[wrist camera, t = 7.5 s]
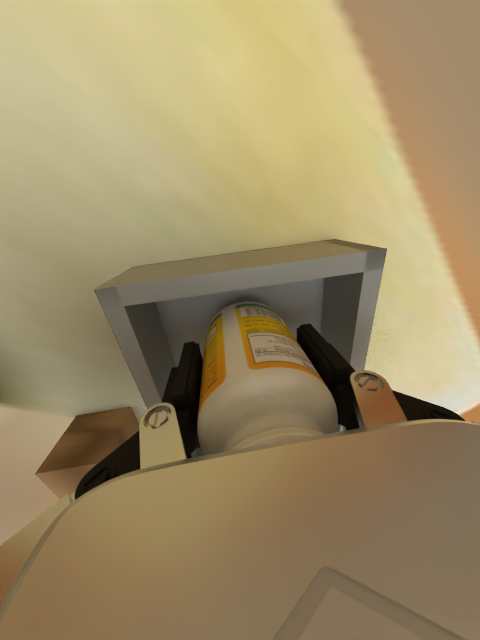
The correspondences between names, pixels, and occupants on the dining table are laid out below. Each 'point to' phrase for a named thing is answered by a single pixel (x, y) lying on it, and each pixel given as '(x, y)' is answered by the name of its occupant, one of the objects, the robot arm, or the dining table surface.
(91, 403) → the dining table surface
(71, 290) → the dining table surface
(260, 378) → the supplement bottle
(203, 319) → the tote
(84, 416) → the walnut cube
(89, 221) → the dining table surface
